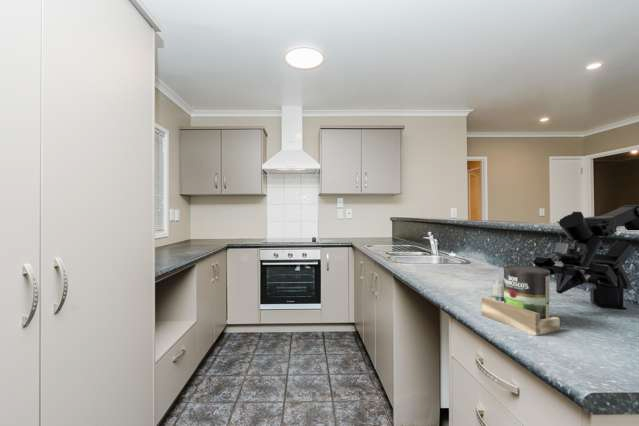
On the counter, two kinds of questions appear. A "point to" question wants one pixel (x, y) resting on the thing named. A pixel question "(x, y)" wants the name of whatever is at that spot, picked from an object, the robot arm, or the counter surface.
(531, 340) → the counter surface
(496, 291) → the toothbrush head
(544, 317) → the dark container
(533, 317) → the maple cradle
